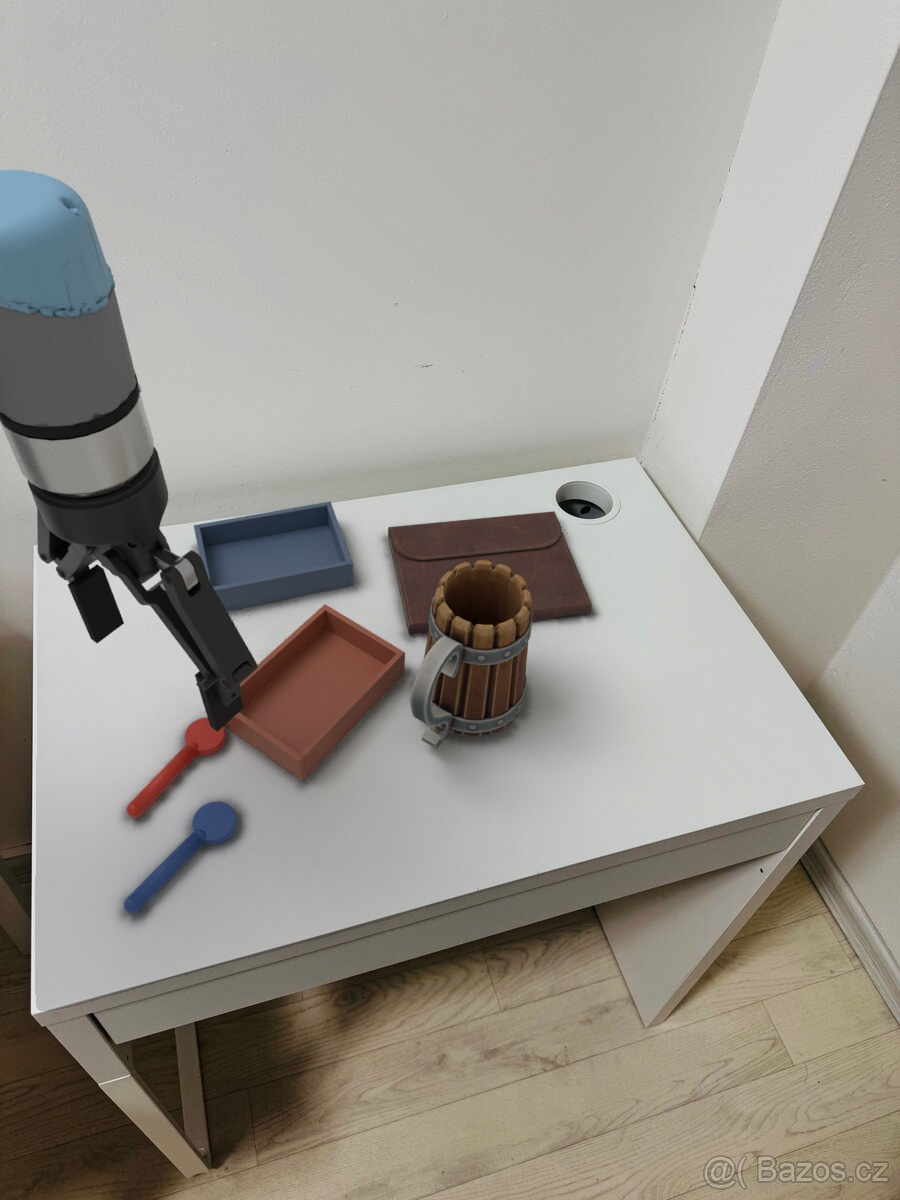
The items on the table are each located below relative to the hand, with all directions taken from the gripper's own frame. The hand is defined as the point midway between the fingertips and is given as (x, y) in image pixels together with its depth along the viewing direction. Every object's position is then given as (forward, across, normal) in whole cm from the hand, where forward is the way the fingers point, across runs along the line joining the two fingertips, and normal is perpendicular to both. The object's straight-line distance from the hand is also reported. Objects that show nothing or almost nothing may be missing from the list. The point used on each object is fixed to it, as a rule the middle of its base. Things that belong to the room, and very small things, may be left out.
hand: (165, 673), depth 66 cm
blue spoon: (+14, -6, +7) cm, 16 cm away
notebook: (+14, -7, -36) cm, 39 cm away
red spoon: (+14, +1, +2) cm, 14 cm away
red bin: (+14, -4, -12) cm, 19 cm away
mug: (+14, -16, -19) cm, 28 cm away
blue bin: (+14, +12, -22) cm, 29 cm away
